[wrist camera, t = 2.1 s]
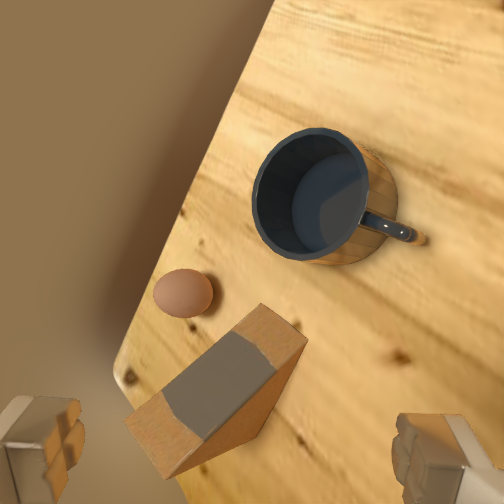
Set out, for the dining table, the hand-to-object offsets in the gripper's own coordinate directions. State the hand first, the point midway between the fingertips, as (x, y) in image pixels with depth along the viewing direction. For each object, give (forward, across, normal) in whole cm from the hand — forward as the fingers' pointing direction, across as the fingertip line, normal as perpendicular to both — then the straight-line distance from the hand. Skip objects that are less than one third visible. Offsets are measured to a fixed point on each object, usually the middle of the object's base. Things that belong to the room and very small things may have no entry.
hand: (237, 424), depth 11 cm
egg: (+45, +7, +20) cm, 50 cm away
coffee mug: (+37, -11, +5) cm, 39 cm away
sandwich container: (+36, -1, +26) cm, 44 cm away
